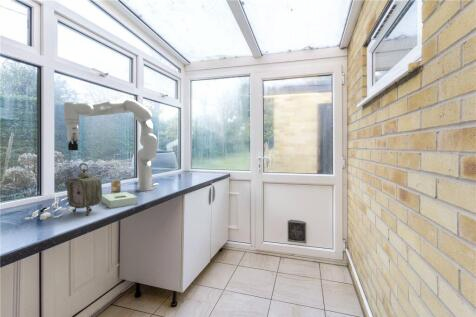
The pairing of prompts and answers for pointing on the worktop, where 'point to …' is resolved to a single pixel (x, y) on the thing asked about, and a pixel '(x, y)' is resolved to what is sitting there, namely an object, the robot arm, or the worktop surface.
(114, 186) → the oak post
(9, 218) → the worktop surface
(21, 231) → the worktop surface
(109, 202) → the board
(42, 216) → the miniature set
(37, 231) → the worktop surface
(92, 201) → the tabletop clock
